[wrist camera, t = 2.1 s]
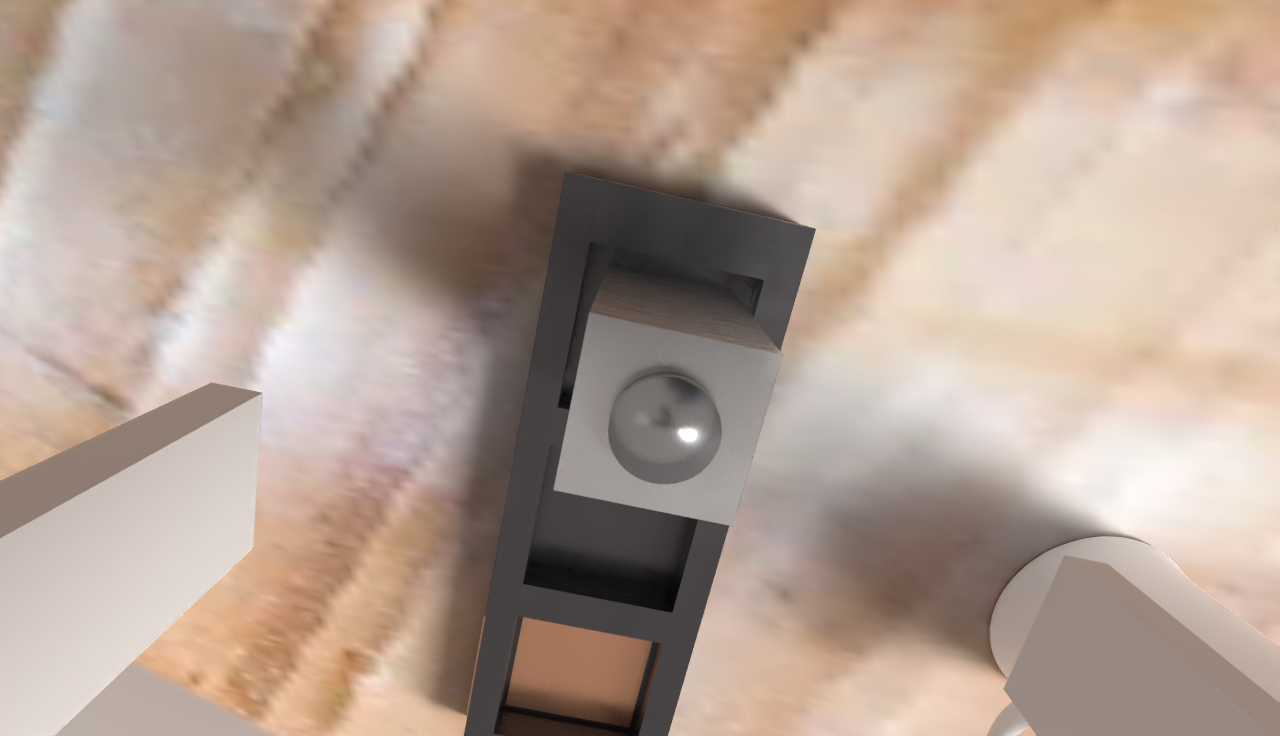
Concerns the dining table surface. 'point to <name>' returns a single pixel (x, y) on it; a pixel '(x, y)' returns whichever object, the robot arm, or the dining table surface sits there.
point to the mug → (1155, 578)
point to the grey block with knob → (667, 397)
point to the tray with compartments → (602, 530)
